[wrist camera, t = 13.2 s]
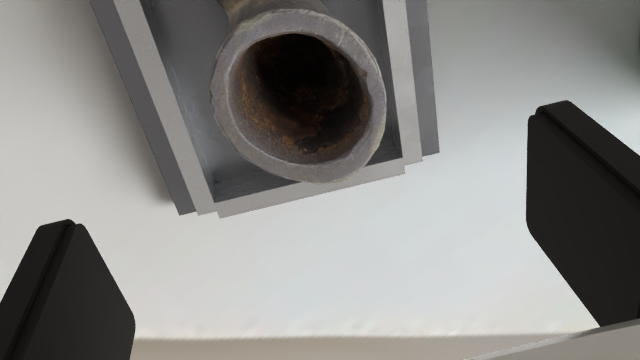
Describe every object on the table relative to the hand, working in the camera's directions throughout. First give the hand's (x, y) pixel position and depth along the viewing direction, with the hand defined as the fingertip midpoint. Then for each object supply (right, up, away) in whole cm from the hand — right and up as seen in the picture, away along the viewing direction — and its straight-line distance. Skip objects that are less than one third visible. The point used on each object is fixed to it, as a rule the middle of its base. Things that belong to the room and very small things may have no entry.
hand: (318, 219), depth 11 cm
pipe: (-3, +9, +14) cm, 17 cm away
